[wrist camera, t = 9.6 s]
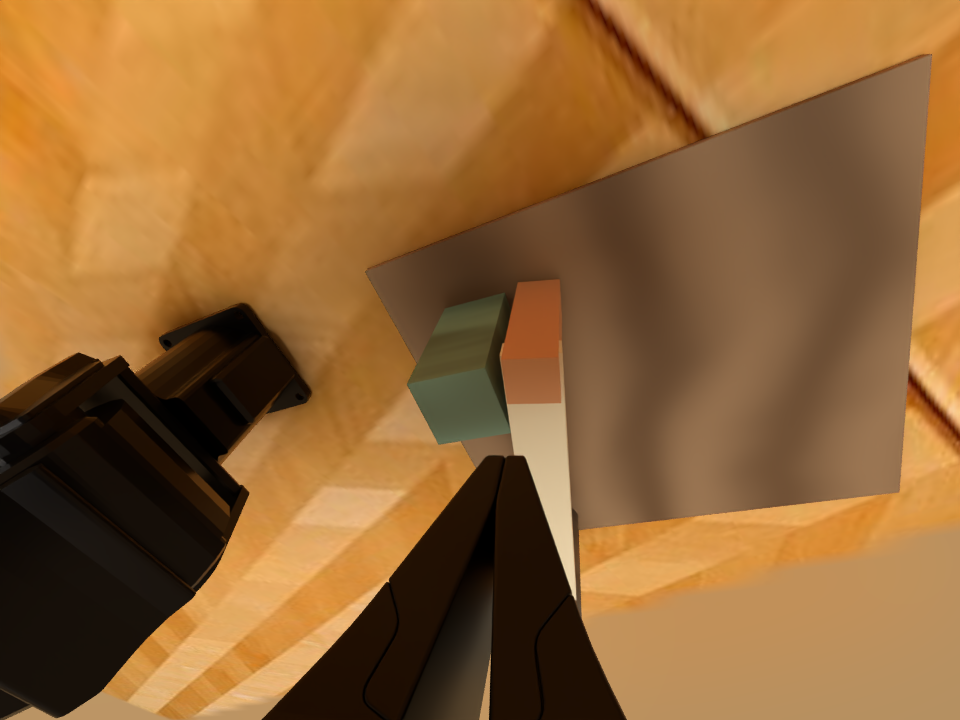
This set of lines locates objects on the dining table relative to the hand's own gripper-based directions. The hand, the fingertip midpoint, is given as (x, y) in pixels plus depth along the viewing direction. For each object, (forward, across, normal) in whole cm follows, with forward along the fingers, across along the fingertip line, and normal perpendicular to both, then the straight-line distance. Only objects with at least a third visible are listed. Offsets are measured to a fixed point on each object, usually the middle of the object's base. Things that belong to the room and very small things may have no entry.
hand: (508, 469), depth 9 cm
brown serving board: (+12, -5, +6) cm, 14 cm away
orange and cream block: (+11, 0, +8) cm, 14 cm away
